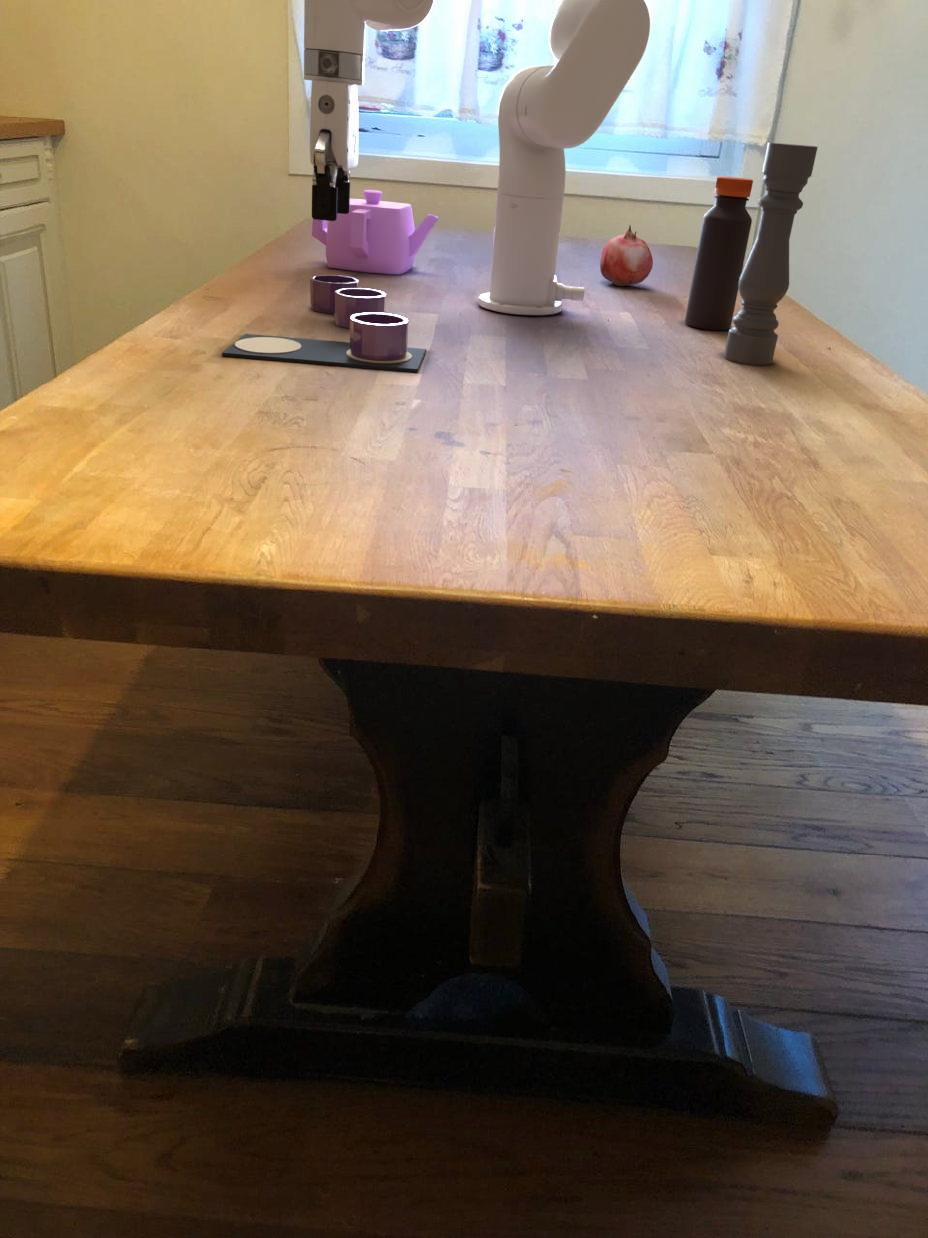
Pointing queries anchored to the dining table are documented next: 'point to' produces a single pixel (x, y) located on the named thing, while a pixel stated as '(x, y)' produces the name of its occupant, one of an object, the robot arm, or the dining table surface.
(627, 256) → the fruit
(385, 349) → the dish
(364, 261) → the teakettle
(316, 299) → the purple cup
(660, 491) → the dining table surface
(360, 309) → the dish
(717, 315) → the bottle
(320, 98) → the robot arm
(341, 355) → the mat
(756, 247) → the candle holder
